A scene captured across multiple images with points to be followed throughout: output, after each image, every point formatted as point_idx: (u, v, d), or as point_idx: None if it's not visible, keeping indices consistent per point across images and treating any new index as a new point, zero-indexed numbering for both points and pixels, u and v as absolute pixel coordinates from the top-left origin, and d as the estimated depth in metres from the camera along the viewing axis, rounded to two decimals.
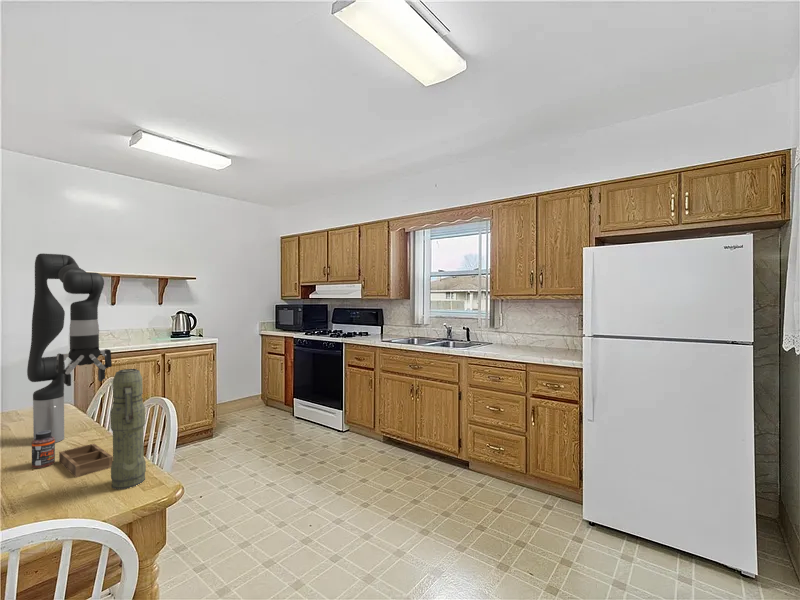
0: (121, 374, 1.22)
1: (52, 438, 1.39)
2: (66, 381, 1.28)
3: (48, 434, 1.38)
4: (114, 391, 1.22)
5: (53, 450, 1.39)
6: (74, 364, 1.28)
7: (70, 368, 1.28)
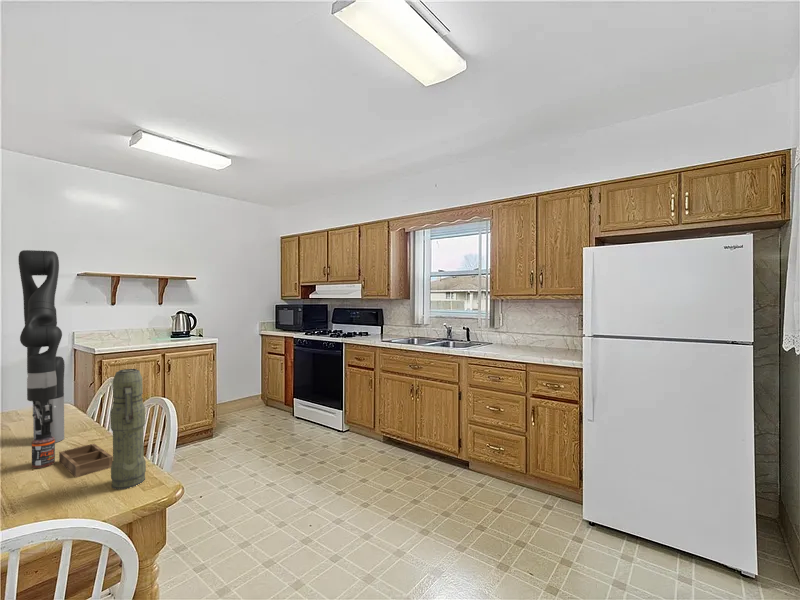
0: (121, 374, 1.22)
1: (52, 438, 1.39)
2: None
3: None
4: (114, 391, 1.22)
5: (53, 450, 1.39)
6: None
7: None
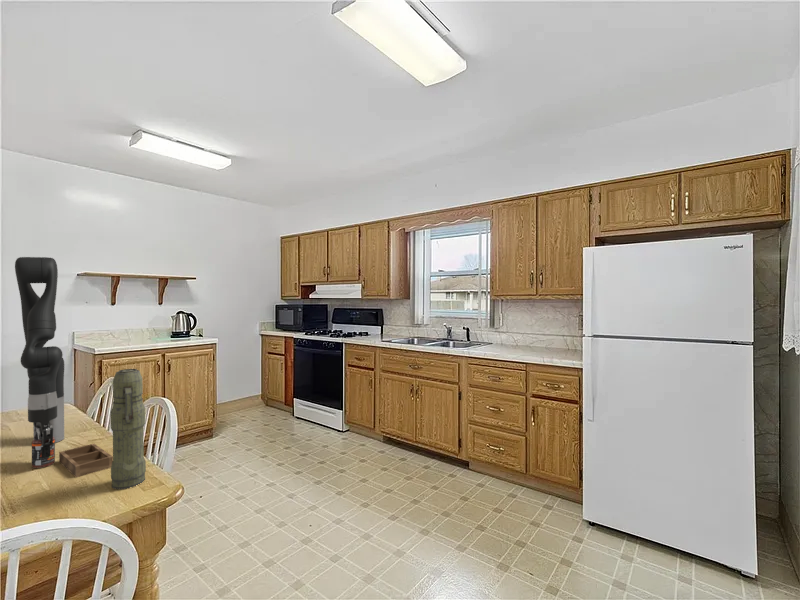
0: (121, 374, 1.22)
1: None
2: None
3: None
4: (114, 391, 1.22)
5: (53, 450, 1.39)
6: None
7: None
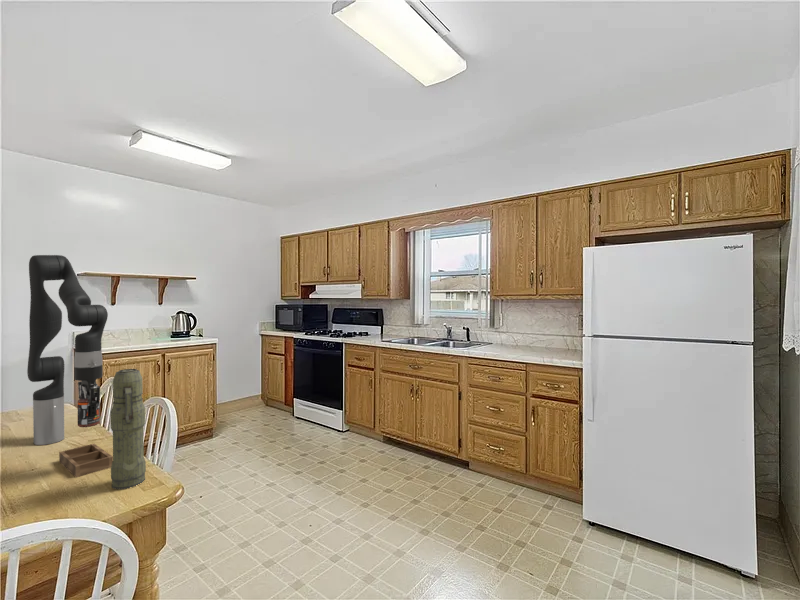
0: (121, 374, 1.22)
1: None
2: None
3: None
4: (114, 391, 1.22)
5: (98, 410, 1.36)
6: None
7: None
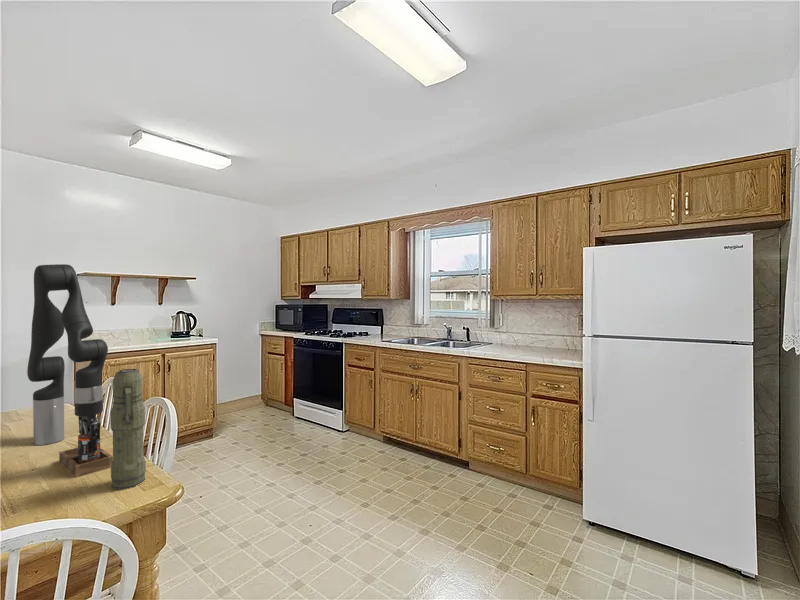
0: (121, 374, 1.22)
1: None
2: None
3: None
4: (114, 391, 1.22)
5: (99, 445, 1.36)
6: None
7: None
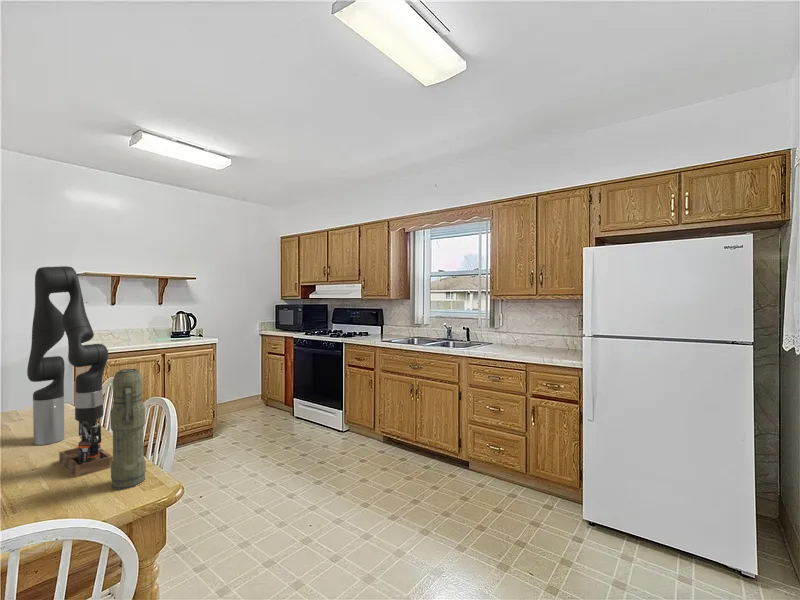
0: (121, 374, 1.22)
1: None
2: None
3: None
4: (114, 391, 1.22)
5: (99, 452, 1.37)
6: None
7: None
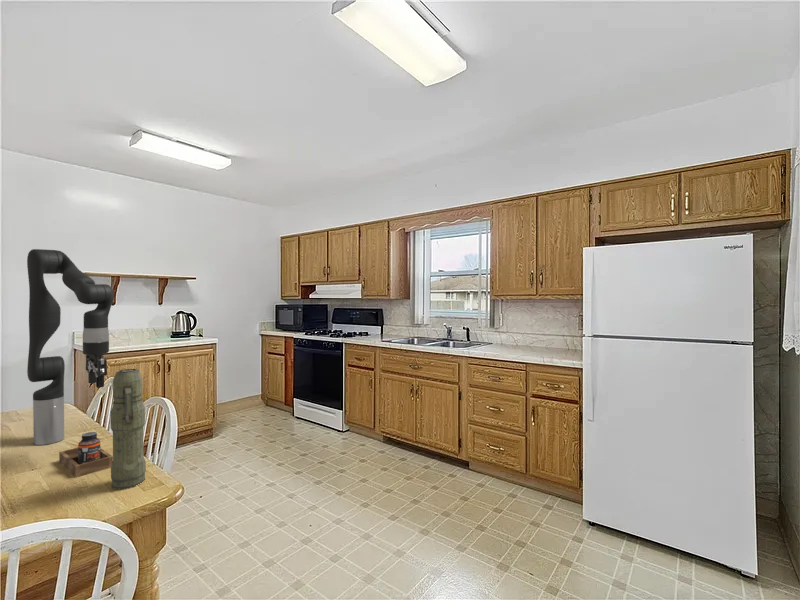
0: (121, 374, 1.22)
1: (98, 440, 1.37)
2: None
3: (94, 436, 1.36)
4: (114, 391, 1.22)
5: (99, 452, 1.37)
6: None
7: None
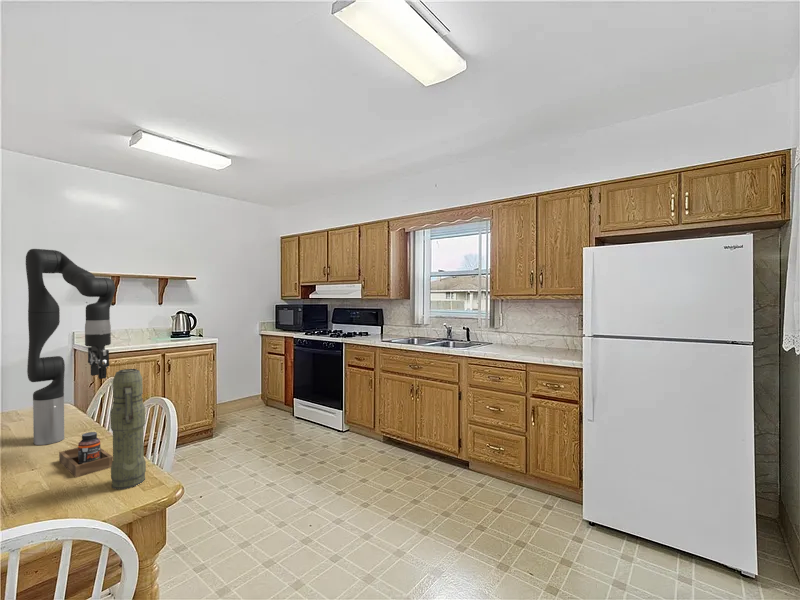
0: (121, 374, 1.22)
1: (98, 440, 1.37)
2: None
3: (94, 436, 1.36)
4: (114, 391, 1.22)
5: (99, 452, 1.37)
6: None
7: None
